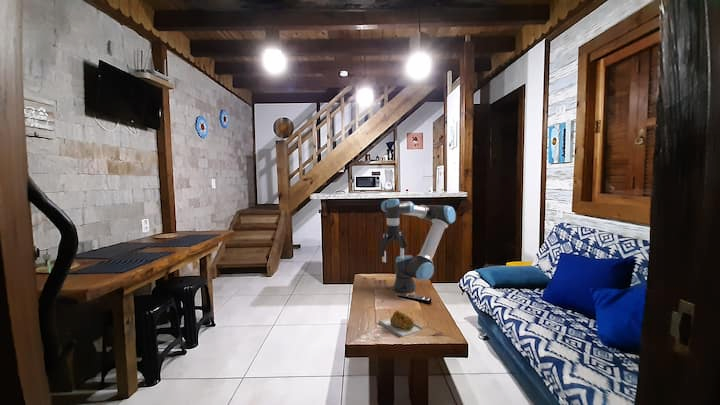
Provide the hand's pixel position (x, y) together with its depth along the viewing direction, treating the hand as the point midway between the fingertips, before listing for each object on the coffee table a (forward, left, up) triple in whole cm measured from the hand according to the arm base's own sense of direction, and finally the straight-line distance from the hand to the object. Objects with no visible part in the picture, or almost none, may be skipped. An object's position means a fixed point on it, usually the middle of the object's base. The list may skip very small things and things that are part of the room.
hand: (393, 260), depth 183 cm
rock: (+15, +27, -26) cm, 41 cm away
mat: (+15, +25, -27) cm, 39 cm away
